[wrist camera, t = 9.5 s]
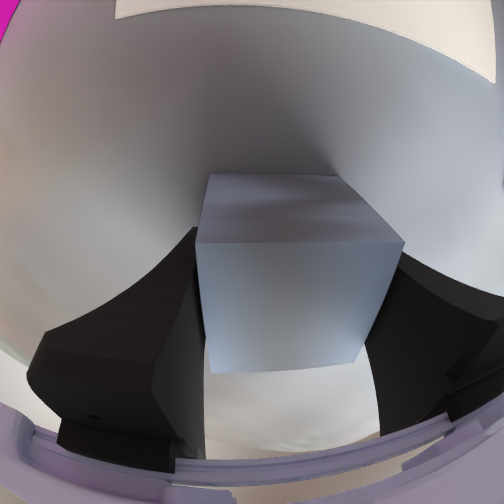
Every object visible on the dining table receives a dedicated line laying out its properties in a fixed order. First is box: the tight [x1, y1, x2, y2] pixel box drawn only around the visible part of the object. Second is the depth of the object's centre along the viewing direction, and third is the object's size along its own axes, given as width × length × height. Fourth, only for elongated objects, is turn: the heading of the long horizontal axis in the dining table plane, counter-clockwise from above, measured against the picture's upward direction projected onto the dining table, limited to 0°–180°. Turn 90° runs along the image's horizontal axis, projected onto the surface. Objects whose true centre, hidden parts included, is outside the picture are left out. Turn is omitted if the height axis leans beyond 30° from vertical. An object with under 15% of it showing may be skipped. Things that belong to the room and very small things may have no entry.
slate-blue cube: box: [195, 173, 405, 373], centre depth 9 cm, size 5×5×5 cm
